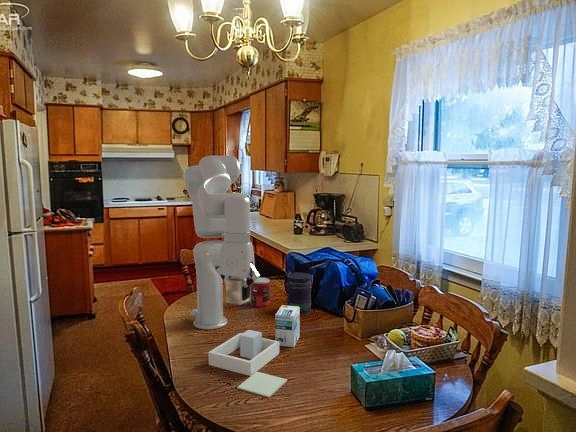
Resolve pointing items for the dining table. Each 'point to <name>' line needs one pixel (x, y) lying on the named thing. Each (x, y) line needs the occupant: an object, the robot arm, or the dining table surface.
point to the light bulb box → (287, 325)
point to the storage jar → (299, 291)
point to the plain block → (250, 344)
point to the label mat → (262, 384)
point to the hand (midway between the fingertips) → (237, 296)
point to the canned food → (260, 292)
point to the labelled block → (234, 291)
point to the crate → (224, 361)
